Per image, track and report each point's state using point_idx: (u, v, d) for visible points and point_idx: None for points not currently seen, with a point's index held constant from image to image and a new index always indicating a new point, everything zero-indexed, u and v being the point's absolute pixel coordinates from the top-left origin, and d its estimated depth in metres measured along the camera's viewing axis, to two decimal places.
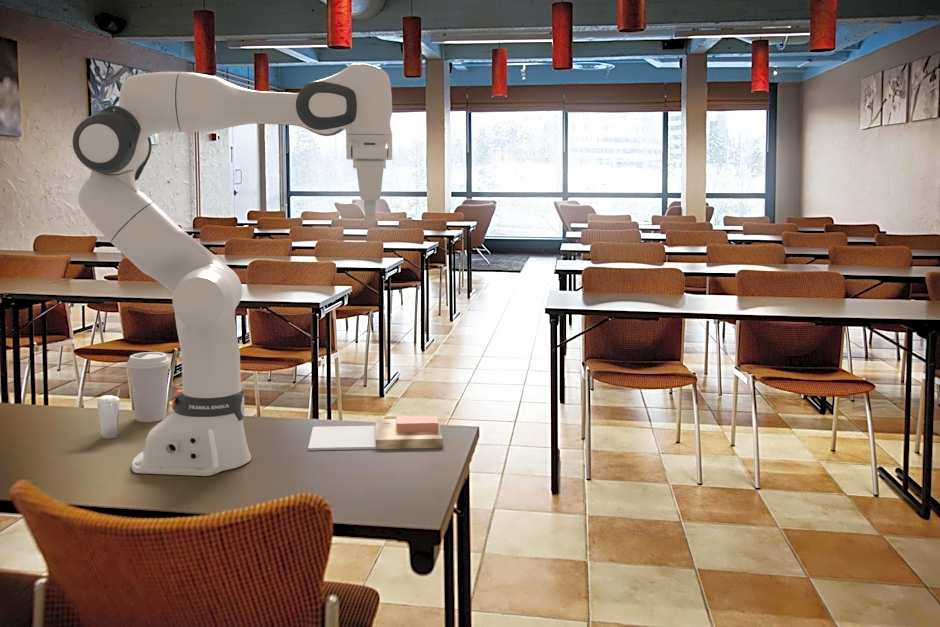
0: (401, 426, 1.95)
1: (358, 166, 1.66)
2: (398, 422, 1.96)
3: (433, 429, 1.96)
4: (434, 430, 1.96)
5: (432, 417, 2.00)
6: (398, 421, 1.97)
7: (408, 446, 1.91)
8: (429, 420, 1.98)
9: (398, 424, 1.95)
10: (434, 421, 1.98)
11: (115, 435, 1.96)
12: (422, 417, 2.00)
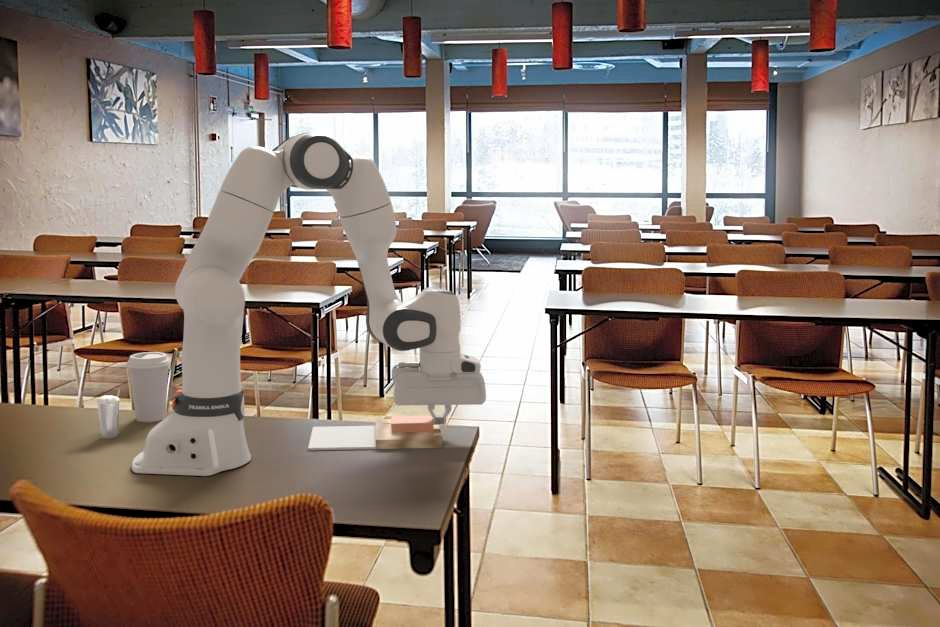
0: (396, 426, 1.95)
1: None
2: (393, 422, 1.96)
3: (428, 429, 1.96)
4: (429, 430, 1.96)
5: (427, 417, 2.00)
6: (393, 421, 1.97)
7: (408, 446, 1.91)
8: (424, 420, 1.98)
9: (393, 424, 1.95)
10: (429, 421, 1.97)
11: (115, 435, 1.96)
12: (417, 417, 2.00)
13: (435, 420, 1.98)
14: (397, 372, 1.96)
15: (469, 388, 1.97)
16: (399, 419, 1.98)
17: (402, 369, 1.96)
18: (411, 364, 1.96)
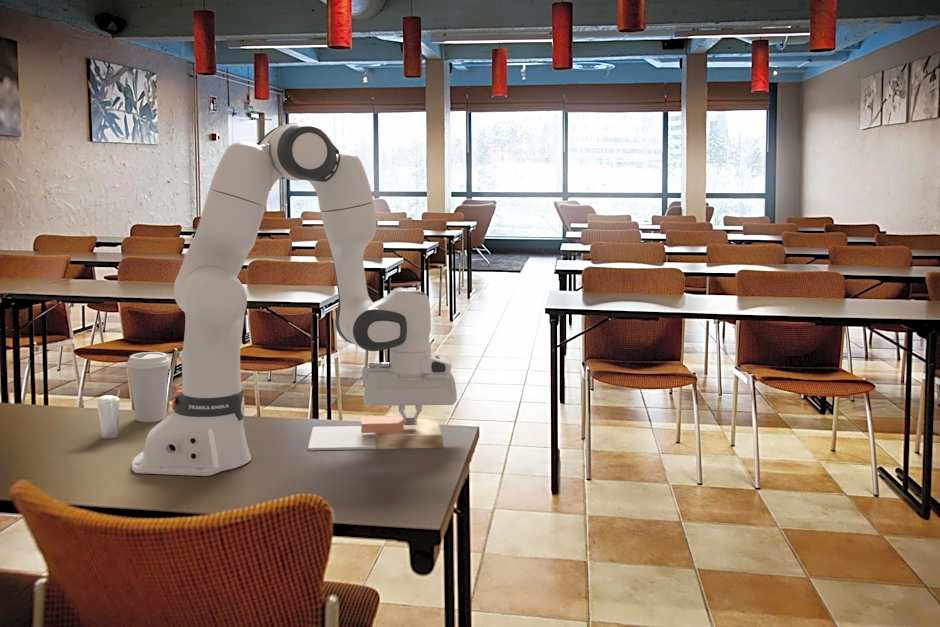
0: (366, 426, 1.95)
1: (453, 378, 1.96)
2: (363, 422, 1.95)
3: (398, 430, 1.95)
4: (399, 431, 1.95)
5: (398, 418, 2.00)
6: (363, 422, 1.96)
7: (408, 446, 1.91)
8: (394, 421, 1.97)
9: (363, 424, 1.94)
10: (399, 421, 1.97)
11: (115, 435, 1.96)
12: (388, 418, 1.99)
13: (405, 420, 1.97)
14: (367, 372, 1.95)
15: (439, 389, 1.96)
16: (369, 419, 1.98)
17: (372, 369, 1.95)
18: (381, 364, 1.95)
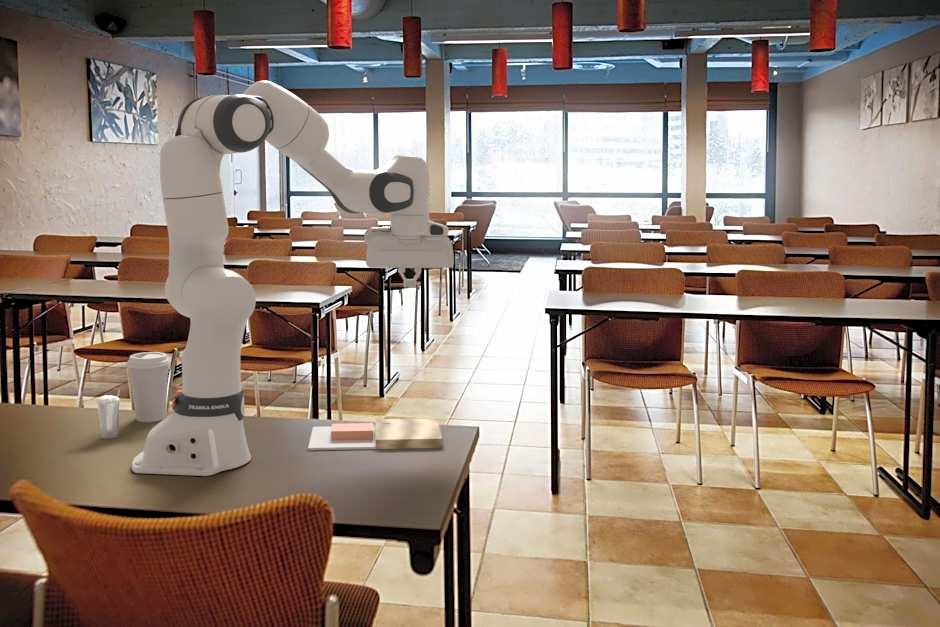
0: (336, 433, 1.94)
1: (450, 241, 2.07)
2: (332, 430, 1.95)
3: (368, 437, 1.95)
4: (369, 438, 1.95)
5: (368, 425, 1.99)
6: (333, 429, 1.96)
7: (408, 446, 1.91)
8: (364, 428, 1.97)
9: (333, 431, 1.94)
10: (369, 428, 1.96)
11: (115, 435, 1.96)
12: (358, 425, 1.99)
13: (406, 283, 2.09)
14: (369, 236, 2.07)
15: (437, 252, 2.08)
16: (339, 427, 1.97)
17: (374, 233, 2.07)
18: (382, 228, 2.07)
